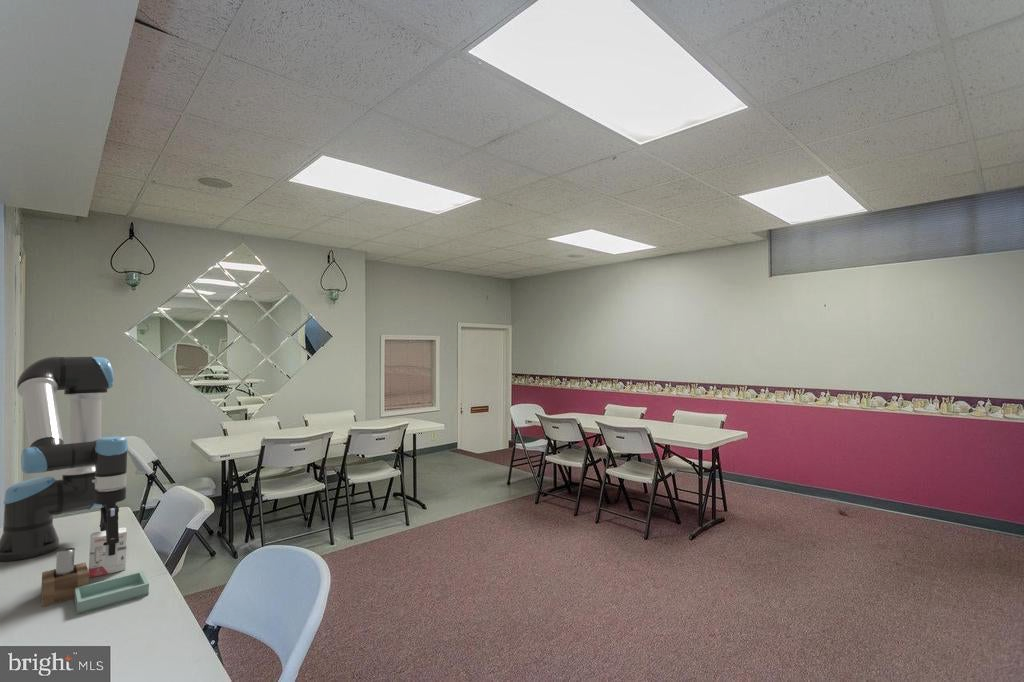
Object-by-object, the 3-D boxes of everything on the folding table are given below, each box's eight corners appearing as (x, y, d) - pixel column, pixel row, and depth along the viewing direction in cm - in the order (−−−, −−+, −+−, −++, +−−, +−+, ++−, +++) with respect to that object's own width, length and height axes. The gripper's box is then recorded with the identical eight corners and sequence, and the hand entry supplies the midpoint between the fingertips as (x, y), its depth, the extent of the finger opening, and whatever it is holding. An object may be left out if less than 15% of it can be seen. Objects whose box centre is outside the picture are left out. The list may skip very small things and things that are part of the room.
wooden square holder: (41, 594, 132) (42, 572, 132) (84, 583, 139) (85, 562, 139) (42, 606, 126) (43, 583, 126) (87, 594, 132) (88, 572, 132)
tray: (74, 599, 130) (74, 587, 130) (141, 581, 140) (142, 571, 140) (77, 614, 122) (77, 602, 122) (148, 594, 133) (148, 583, 133)
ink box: (88, 578, 142) (90, 537, 142) (88, 572, 145) (89, 533, 146) (126, 570, 147) (127, 531, 148) (125, 564, 151) (126, 526, 151)
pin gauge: (54, 594, 132) (56, 550, 132) (72, 590, 135) (73, 546, 135) (55, 599, 130) (57, 554, 130) (73, 594, 132) (75, 550, 132)
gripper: (90, 482, 153) (87, 550, 152) (98, 499, 136) (96, 576, 135) (120, 478, 158) (118, 543, 158) (132, 494, 141) (130, 567, 140)
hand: (108, 558), depth 146 cm, fingers open, 13 cm apart
